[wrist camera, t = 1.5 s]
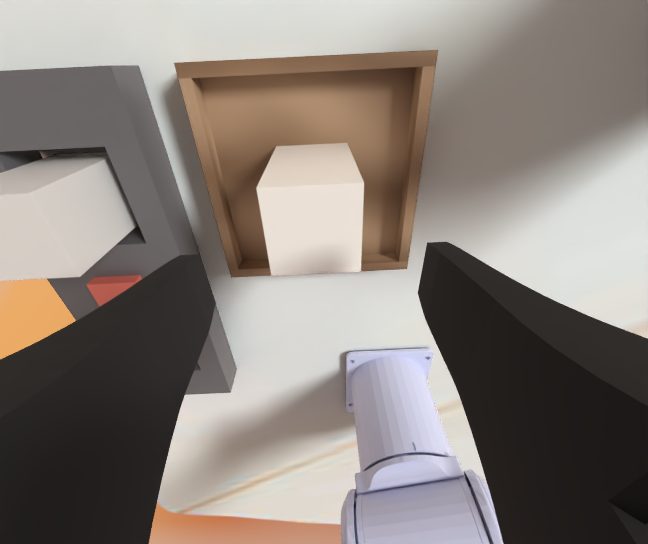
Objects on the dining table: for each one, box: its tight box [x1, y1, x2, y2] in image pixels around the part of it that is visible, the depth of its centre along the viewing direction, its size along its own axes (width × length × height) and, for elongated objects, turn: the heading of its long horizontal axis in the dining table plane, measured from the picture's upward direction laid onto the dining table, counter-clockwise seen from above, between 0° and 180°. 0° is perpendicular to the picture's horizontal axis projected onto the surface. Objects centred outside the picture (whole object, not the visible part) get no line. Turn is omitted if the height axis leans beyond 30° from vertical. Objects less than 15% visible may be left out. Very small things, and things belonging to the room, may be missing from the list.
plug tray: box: [174, 50, 438, 277], centre depth 18 cm, size 12×12×2 cm
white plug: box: [256, 143, 364, 276], centre depth 15 cm, size 4×4×7 cm
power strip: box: [0, 66, 237, 395], centre depth 21 cm, size 24×9×3 cm, turn 3°
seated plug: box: [0, 152, 138, 281], centre depth 16 cm, size 4×4×7 cm
